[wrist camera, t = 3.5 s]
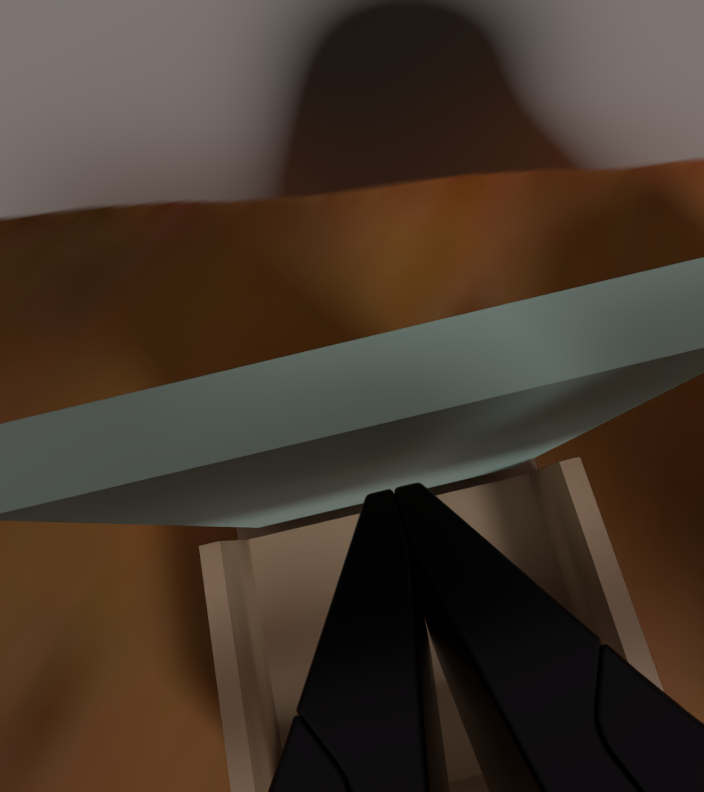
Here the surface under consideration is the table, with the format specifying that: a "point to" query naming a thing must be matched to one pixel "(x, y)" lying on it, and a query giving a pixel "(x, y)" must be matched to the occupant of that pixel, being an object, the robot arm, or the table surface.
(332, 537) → the tray
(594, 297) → the sage green panel
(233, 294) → the table surface
